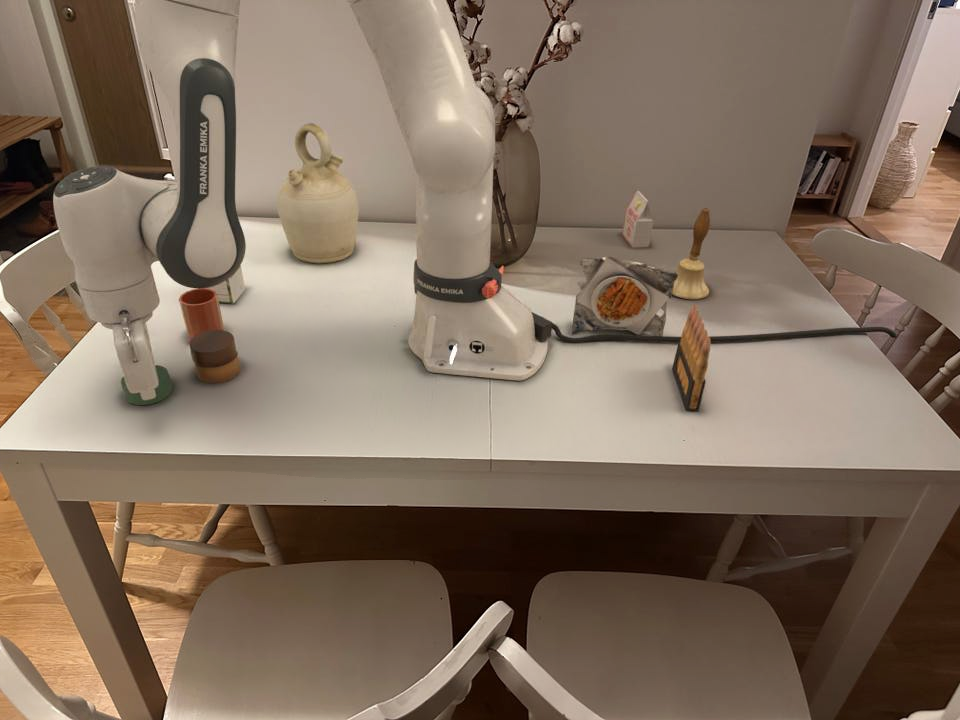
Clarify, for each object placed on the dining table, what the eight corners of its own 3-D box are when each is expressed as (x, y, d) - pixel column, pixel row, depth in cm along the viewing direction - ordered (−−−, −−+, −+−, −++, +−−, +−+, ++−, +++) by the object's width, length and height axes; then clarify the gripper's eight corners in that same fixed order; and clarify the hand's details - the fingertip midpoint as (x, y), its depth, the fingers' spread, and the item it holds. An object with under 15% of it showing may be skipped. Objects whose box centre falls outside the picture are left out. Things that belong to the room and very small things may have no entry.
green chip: (181, 384, 100) (178, 369, 98) (152, 409, 95) (148, 394, 93) (146, 375, 101) (141, 361, 100) (115, 399, 96) (110, 384, 95)
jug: (334, 229, 148) (323, 109, 134) (376, 253, 138) (369, 127, 124) (269, 247, 139) (250, 121, 125) (310, 275, 130) (294, 141, 116)
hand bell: (692, 277, 134) (711, 198, 125) (717, 296, 128) (738, 215, 119) (655, 282, 132) (671, 202, 123) (679, 302, 125) (697, 220, 116)
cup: (231, 329, 113) (224, 291, 109) (210, 346, 108) (201, 307, 105) (203, 323, 114) (194, 285, 110) (181, 339, 110) (171, 301, 106)
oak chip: (248, 364, 105) (246, 349, 103) (224, 386, 100) (221, 371, 98) (213, 356, 106) (210, 341, 105) (188, 378, 101) (184, 363, 100)
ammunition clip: (671, 368, 107) (687, 301, 101) (683, 369, 107) (699, 301, 101) (685, 410, 99) (703, 340, 92) (698, 411, 99) (717, 340, 92)
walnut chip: (245, 348, 104) (242, 334, 102) (220, 371, 99) (216, 355, 97) (210, 341, 105) (206, 326, 104) (183, 362, 100) (179, 347, 99)
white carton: (638, 234, 151) (645, 190, 145) (648, 247, 145) (657, 201, 140) (622, 234, 150) (629, 190, 145) (632, 247, 145) (639, 202, 139)
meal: (571, 335, 115) (580, 264, 107) (572, 323, 118) (581, 253, 111) (662, 346, 113) (678, 274, 105) (661, 332, 116) (676, 262, 109)
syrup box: (246, 289, 124) (233, 213, 116) (233, 305, 119) (218, 227, 111) (216, 286, 125) (200, 211, 117) (201, 302, 120) (184, 224, 112)
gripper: (155, 328, 83) (180, 417, 91) (139, 260, 98) (161, 342, 106) (97, 339, 80) (128, 430, 88) (90, 268, 95) (116, 351, 103)
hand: (146, 381), depth 97 cm, fingers closed on green chip, 6 cm apart
